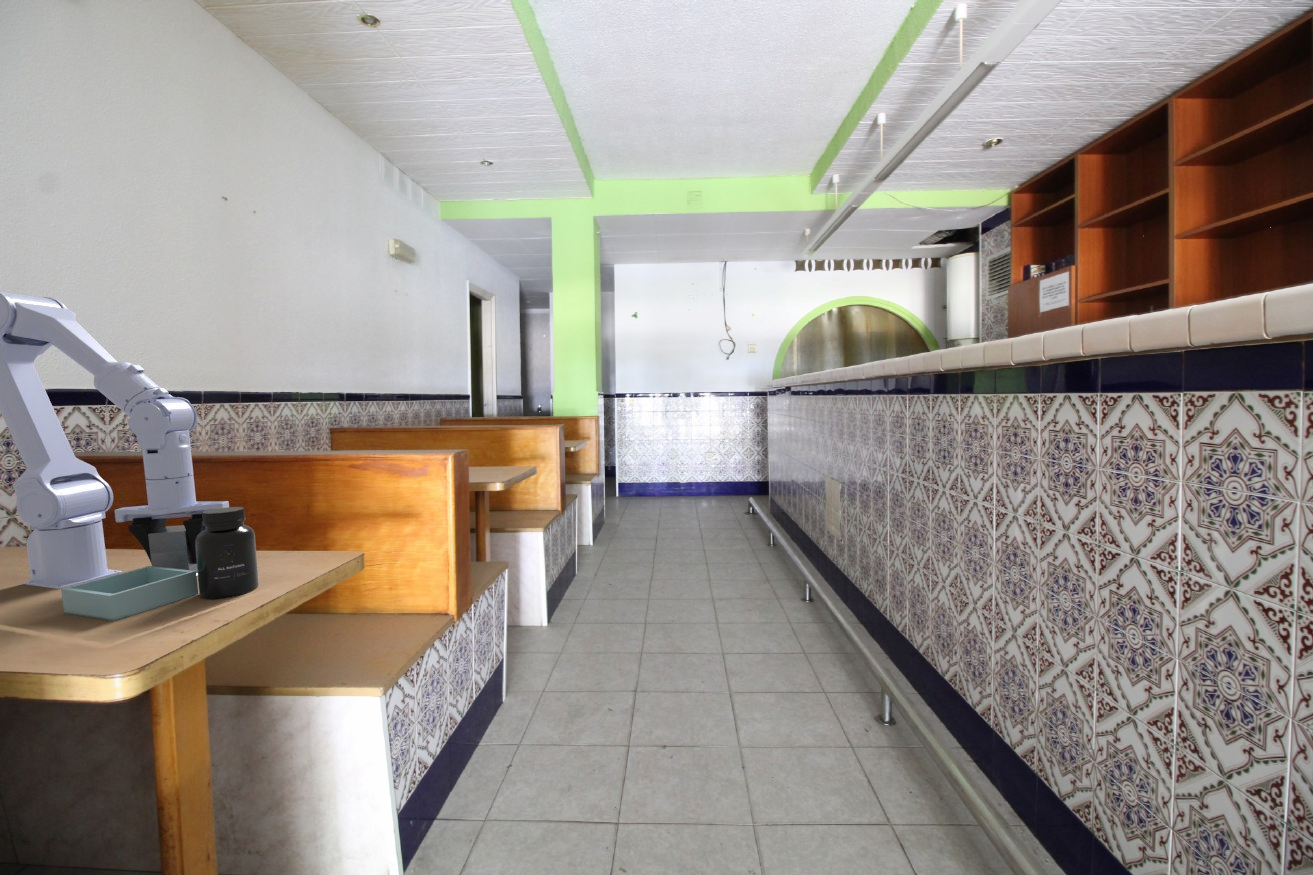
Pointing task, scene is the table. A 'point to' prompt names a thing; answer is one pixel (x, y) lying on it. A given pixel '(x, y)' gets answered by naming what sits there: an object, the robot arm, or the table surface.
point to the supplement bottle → (226, 554)
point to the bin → (129, 592)
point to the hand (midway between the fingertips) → (179, 563)
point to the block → (171, 548)
